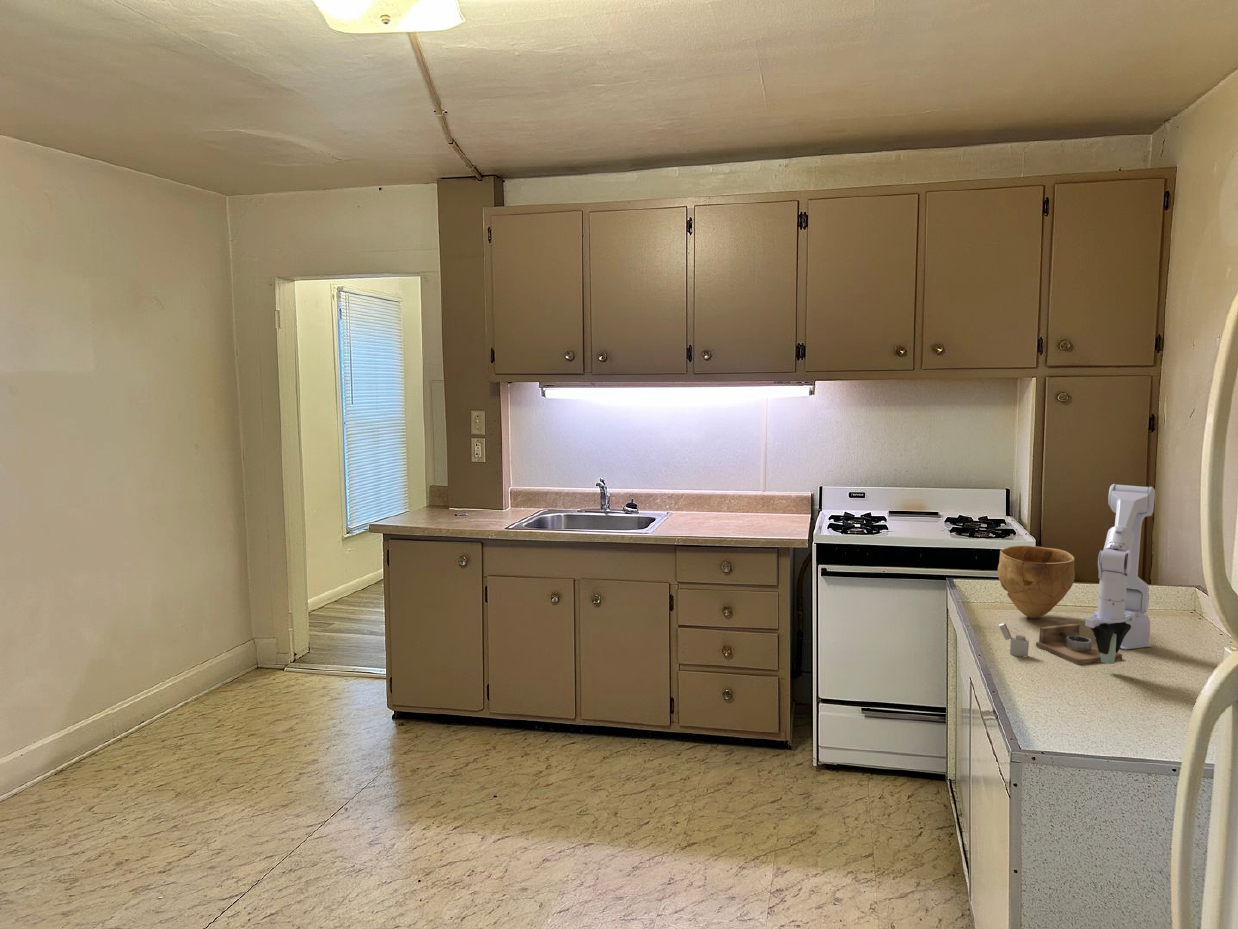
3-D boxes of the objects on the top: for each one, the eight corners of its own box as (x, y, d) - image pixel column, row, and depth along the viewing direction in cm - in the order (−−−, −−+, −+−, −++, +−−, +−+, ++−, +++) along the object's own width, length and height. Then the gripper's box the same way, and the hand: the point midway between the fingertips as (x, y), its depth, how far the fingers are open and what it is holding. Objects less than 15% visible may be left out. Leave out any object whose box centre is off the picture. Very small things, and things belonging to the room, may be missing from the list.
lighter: (1028, 655, 215) (1029, 625, 214) (1027, 657, 214) (1029, 627, 213) (998, 650, 219) (999, 621, 218) (997, 652, 217) (999, 623, 217)
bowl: (1086, 629, 236) (1090, 560, 234) (1014, 629, 237) (1018, 560, 234) (1049, 607, 257) (1053, 544, 255) (983, 607, 257) (986, 544, 255)
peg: (1107, 659, 205) (1109, 631, 204) (1117, 663, 202) (1119, 635, 202) (1097, 660, 204) (1099, 632, 204) (1107, 664, 202) (1109, 636, 201)
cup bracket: (1078, 641, 226) (1079, 623, 225) (1121, 659, 212) (1123, 639, 212) (1035, 646, 222) (1036, 627, 221) (1077, 664, 209) (1078, 644, 208)
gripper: (1118, 590, 208) (1114, 643, 209) (1075, 597, 203) (1072, 650, 204) (1144, 598, 201) (1140, 652, 203) (1101, 604, 196) (1098, 660, 198)
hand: (1108, 652), depth 203 cm, fingers closed on peg, 3 cm apart
